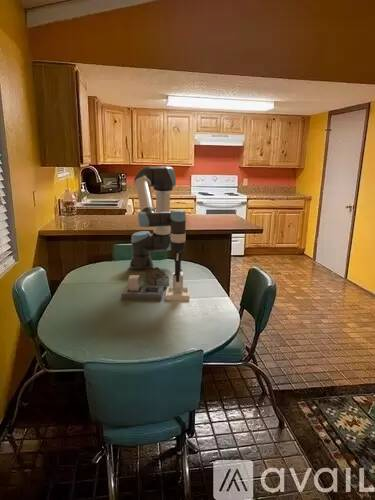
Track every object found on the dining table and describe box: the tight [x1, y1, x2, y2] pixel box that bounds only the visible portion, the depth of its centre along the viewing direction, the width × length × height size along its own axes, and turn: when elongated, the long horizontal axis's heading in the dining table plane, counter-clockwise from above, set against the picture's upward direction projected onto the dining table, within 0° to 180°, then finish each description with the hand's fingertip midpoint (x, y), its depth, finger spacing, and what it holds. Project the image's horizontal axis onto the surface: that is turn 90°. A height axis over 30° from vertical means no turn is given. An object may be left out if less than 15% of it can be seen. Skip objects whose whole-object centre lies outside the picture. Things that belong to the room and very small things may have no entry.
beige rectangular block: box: [128, 274, 141, 292], centre depth 175 cm, size 5×5×10 cm
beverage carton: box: [145, 266, 170, 288], centre depth 194 cm, size 8×19×7 cm, turn 24°
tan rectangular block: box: [172, 271, 184, 294], centre depth 174 cm, size 5×5×10 cm
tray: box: [164, 286, 191, 301], centre depth 176 cm, size 12×12×3 cm
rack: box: [121, 284, 165, 301], centre depth 176 cm, size 12×20×3 cm, turn 89°
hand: (177, 285), depth 175 cm, fingers closed on tan rectangular block, 5 cm apart
